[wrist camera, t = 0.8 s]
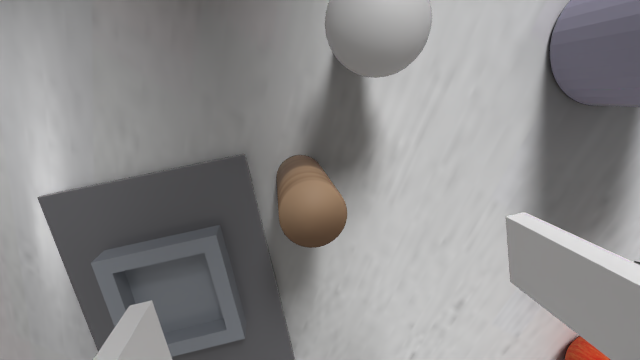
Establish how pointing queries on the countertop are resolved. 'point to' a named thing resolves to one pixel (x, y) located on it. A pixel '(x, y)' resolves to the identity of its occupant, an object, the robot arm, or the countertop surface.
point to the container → (598, 52)
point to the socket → (175, 259)
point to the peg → (308, 203)
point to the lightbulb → (377, 33)
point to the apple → (583, 351)
